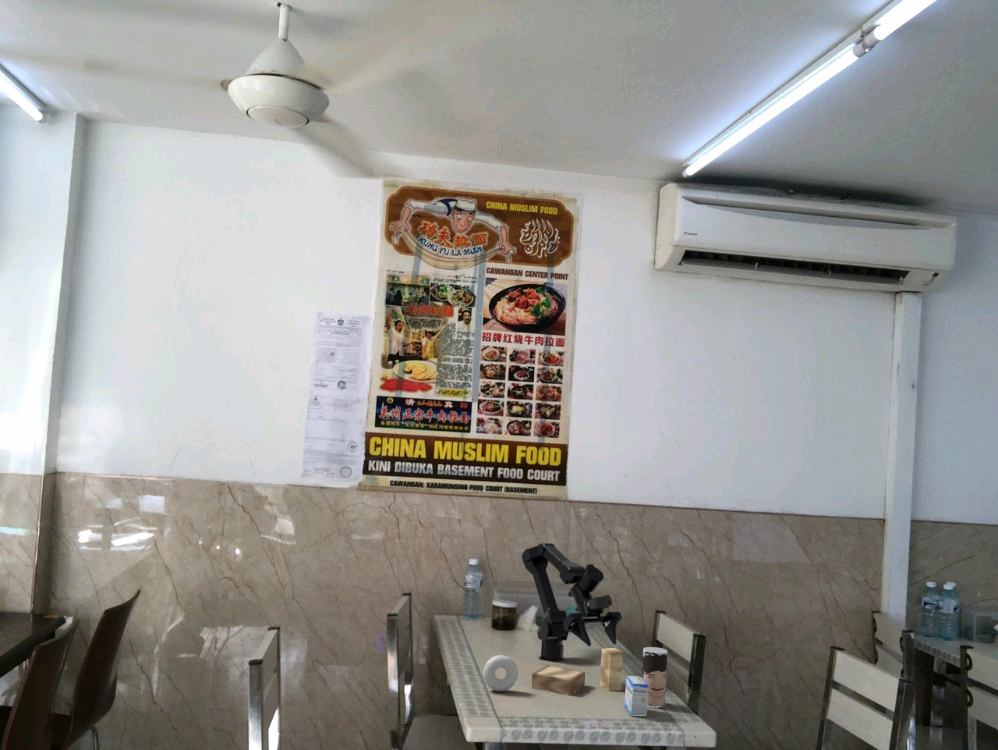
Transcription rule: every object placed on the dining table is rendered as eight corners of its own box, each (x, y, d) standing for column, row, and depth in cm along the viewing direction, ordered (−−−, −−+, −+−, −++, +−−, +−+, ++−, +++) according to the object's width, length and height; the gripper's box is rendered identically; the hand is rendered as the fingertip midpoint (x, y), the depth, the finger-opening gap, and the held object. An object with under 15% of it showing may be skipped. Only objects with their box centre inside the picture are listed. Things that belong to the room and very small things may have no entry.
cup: (638, 705, 240) (641, 650, 241) (642, 699, 247) (645, 645, 248) (663, 709, 238) (666, 654, 239) (666, 703, 244) (668, 649, 246)
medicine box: (624, 707, 238) (625, 675, 239) (639, 708, 238) (641, 676, 239) (630, 716, 230) (632, 683, 231) (647, 717, 230) (649, 684, 231)
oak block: (599, 686, 257) (601, 648, 258) (612, 685, 259) (614, 647, 260) (608, 690, 253) (610, 652, 254) (621, 689, 255) (623, 651, 256)
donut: (516, 690, 247) (518, 654, 248) (517, 693, 244) (520, 657, 245) (481, 688, 246) (483, 653, 247) (482, 692, 243) (484, 656, 244)
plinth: (531, 687, 251) (532, 673, 251) (547, 678, 261) (547, 664, 262) (570, 695, 246) (571, 681, 246) (584, 685, 256) (585, 671, 257)
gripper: (570, 586, 263) (588, 631, 252) (620, 585, 272) (640, 628, 261) (555, 607, 269) (572, 652, 259) (604, 605, 278) (623, 648, 267)
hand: (602, 644), depth 261 cm, fingers open, 9 cm apart
